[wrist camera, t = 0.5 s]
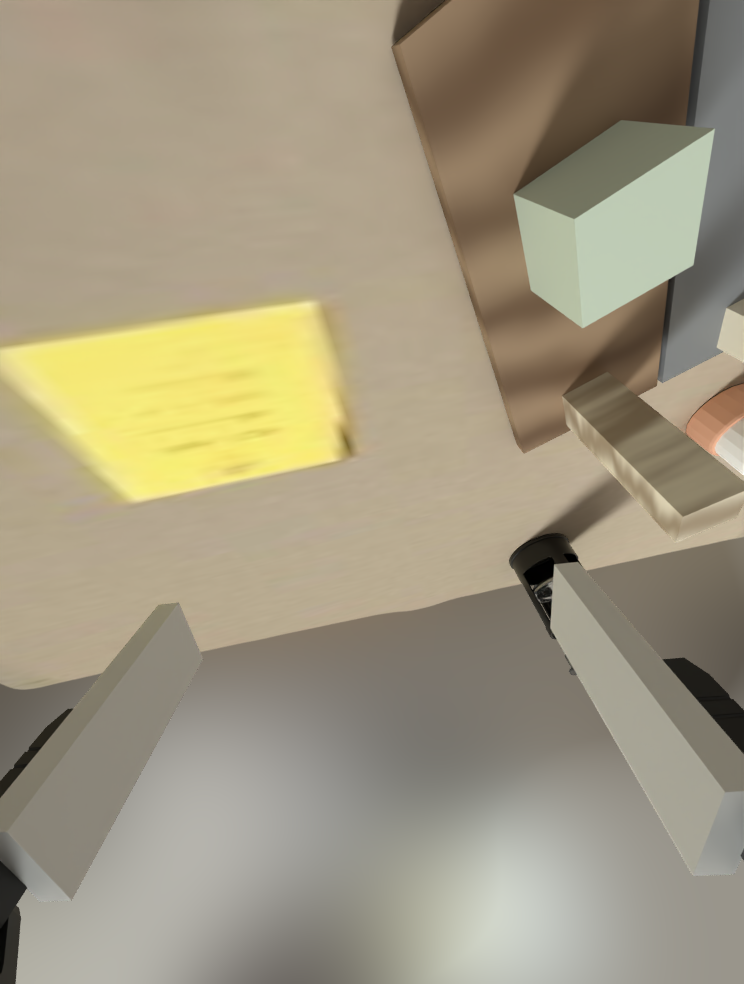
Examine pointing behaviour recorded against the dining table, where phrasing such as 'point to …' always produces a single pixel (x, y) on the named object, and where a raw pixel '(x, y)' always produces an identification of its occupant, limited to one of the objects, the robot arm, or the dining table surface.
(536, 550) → the french press
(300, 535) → the dining table surface
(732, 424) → the pepper shaker
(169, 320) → the dining table surface
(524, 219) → the sage block
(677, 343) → the gray board with post
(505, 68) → the wooden base with post
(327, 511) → the dining table surface
